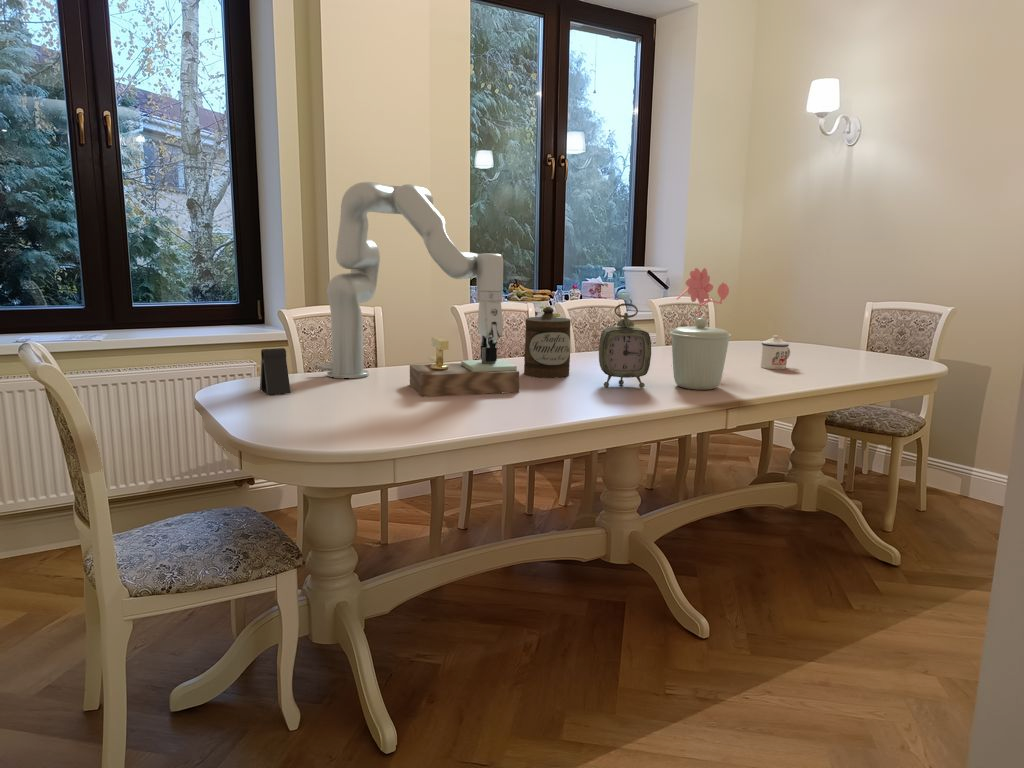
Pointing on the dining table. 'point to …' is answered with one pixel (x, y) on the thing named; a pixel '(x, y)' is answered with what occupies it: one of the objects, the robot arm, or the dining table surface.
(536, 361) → the wooden container
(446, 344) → the t-shaped display stand
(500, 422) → the dining table surface
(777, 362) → the teacup with lid
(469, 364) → the lid
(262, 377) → the black folding stand
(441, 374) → the walnut case
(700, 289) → the pink paper flower
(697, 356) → the canister
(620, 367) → the tabletop clock
